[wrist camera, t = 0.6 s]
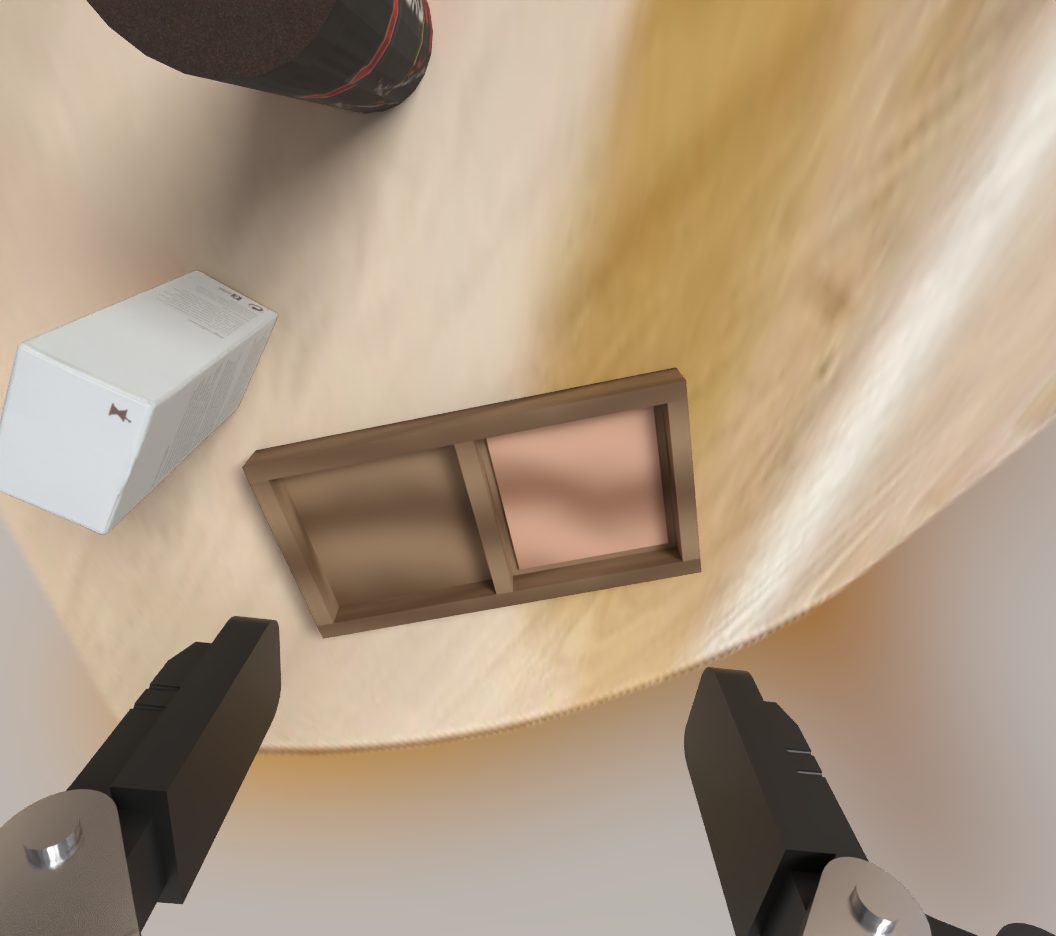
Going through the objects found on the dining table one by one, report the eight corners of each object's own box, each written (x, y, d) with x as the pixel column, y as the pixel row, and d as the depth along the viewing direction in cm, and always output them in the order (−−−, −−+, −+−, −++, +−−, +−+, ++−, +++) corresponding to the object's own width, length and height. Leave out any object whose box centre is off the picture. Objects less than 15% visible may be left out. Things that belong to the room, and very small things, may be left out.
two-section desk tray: (256, 450, 33) (242, 467, 32) (676, 367, 32) (686, 380, 30) (331, 616, 39) (323, 638, 37) (692, 551, 38) (701, 572, 36)
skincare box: (195, 265, 29) (15, 336, 18) (281, 313, 30) (159, 405, 19) (156, 371, 31) (-23, 487, 21) (238, 411, 32) (108, 541, 22)
